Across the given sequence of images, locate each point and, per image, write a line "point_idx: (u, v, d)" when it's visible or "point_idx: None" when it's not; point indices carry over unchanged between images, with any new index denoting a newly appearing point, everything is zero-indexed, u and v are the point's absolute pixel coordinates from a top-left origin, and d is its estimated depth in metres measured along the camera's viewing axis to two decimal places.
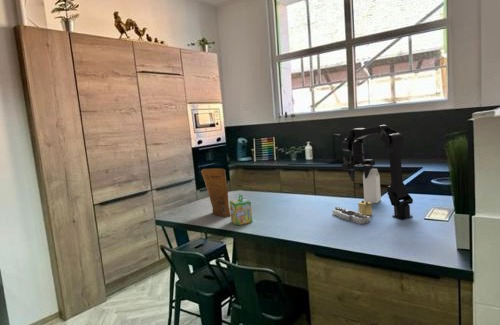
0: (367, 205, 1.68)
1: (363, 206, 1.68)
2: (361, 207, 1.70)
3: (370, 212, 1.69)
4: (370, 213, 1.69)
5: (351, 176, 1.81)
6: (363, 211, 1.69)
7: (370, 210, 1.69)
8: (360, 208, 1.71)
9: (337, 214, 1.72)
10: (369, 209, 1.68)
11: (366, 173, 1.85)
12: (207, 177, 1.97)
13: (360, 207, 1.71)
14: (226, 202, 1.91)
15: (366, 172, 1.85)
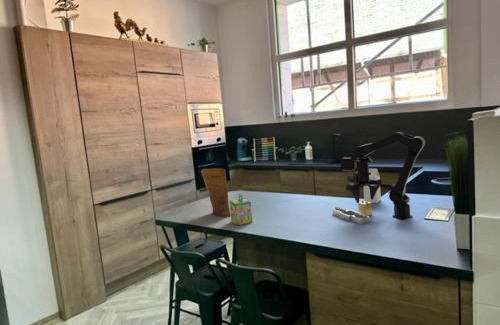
0: (367, 205, 1.68)
1: (363, 206, 1.68)
2: (361, 207, 1.70)
3: (370, 212, 1.69)
4: (370, 213, 1.69)
5: (356, 198, 1.67)
6: (363, 211, 1.69)
7: (370, 210, 1.69)
8: (360, 208, 1.71)
9: (337, 214, 1.72)
10: (369, 209, 1.68)
11: (372, 194, 1.71)
12: (207, 177, 1.97)
13: (360, 207, 1.71)
14: (226, 202, 1.91)
15: (372, 193, 1.71)
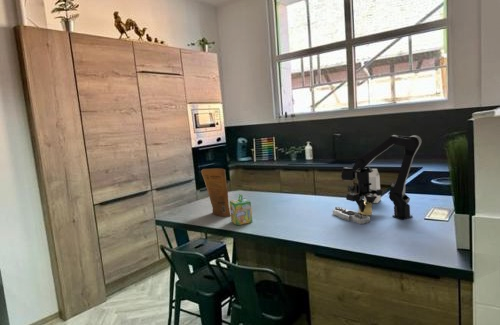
0: (367, 205, 1.68)
1: None
2: None
3: (370, 212, 1.69)
4: (370, 213, 1.69)
5: (360, 207, 1.69)
6: (363, 211, 1.69)
7: (370, 210, 1.69)
8: None
9: (337, 214, 1.72)
10: (369, 209, 1.68)
11: None
12: (207, 177, 1.97)
13: None
14: (226, 202, 1.91)
15: None
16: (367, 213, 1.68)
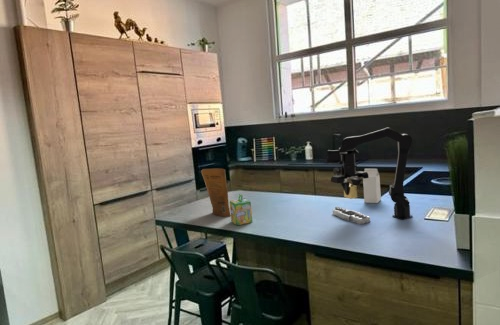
0: (352, 187, 1.64)
1: None
2: None
3: (355, 195, 1.65)
4: (355, 196, 1.65)
5: (345, 189, 1.65)
6: (348, 193, 1.65)
7: (355, 193, 1.65)
8: None
9: (337, 214, 1.72)
10: (354, 192, 1.64)
11: None
12: (207, 177, 1.97)
13: None
14: (226, 202, 1.91)
15: None
16: (352, 196, 1.64)
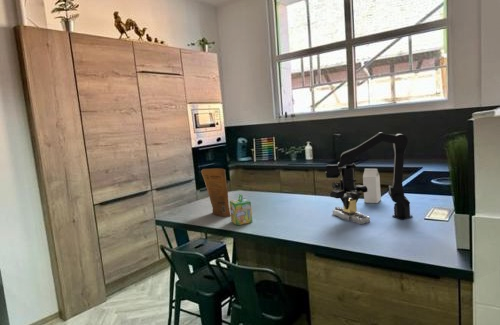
0: (351, 202, 1.64)
1: (348, 203, 1.64)
2: None
3: (355, 209, 1.65)
4: (355, 210, 1.65)
5: (345, 204, 1.65)
6: (348, 208, 1.65)
7: (355, 207, 1.65)
8: None
9: (337, 214, 1.72)
10: (353, 206, 1.64)
11: None
12: (207, 177, 1.97)
13: None
14: (226, 202, 1.91)
15: None
16: (352, 210, 1.64)
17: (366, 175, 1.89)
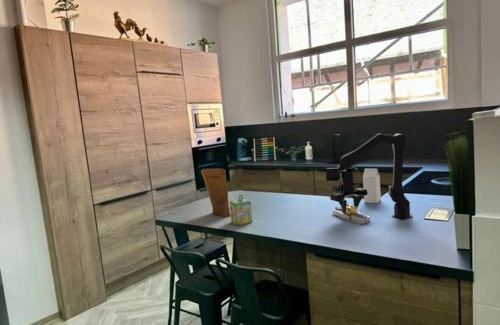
0: (352, 209, 1.64)
1: (348, 210, 1.65)
2: (346, 211, 1.66)
3: None
4: None
5: (343, 207, 1.64)
6: None
7: None
8: None
9: (337, 214, 1.72)
10: (354, 213, 1.65)
11: (356, 204, 1.67)
12: (207, 177, 1.97)
13: None
14: (226, 202, 1.91)
15: (356, 203, 1.67)
16: None
17: (366, 175, 1.89)
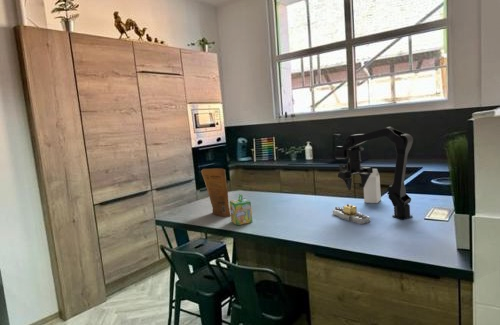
0: (352, 209, 1.64)
1: (348, 210, 1.65)
2: (346, 211, 1.66)
3: None
4: None
5: (348, 185, 1.72)
6: None
7: None
8: (345, 212, 1.67)
9: (337, 214, 1.72)
10: (354, 213, 1.65)
11: (363, 182, 1.76)
12: (207, 177, 1.97)
13: (345, 211, 1.67)
14: (226, 202, 1.91)
15: (363, 180, 1.76)
16: None
17: None
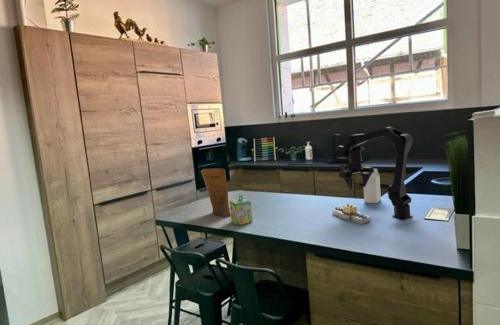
0: (352, 209, 1.64)
1: (348, 210, 1.65)
2: (346, 211, 1.66)
3: None
4: None
5: (349, 184, 1.74)
6: None
7: None
8: (345, 212, 1.67)
9: (337, 214, 1.72)
10: (354, 213, 1.65)
11: (364, 181, 1.77)
12: (207, 177, 1.97)
13: (345, 211, 1.67)
14: (226, 202, 1.91)
15: (364, 180, 1.77)
16: None
17: None
